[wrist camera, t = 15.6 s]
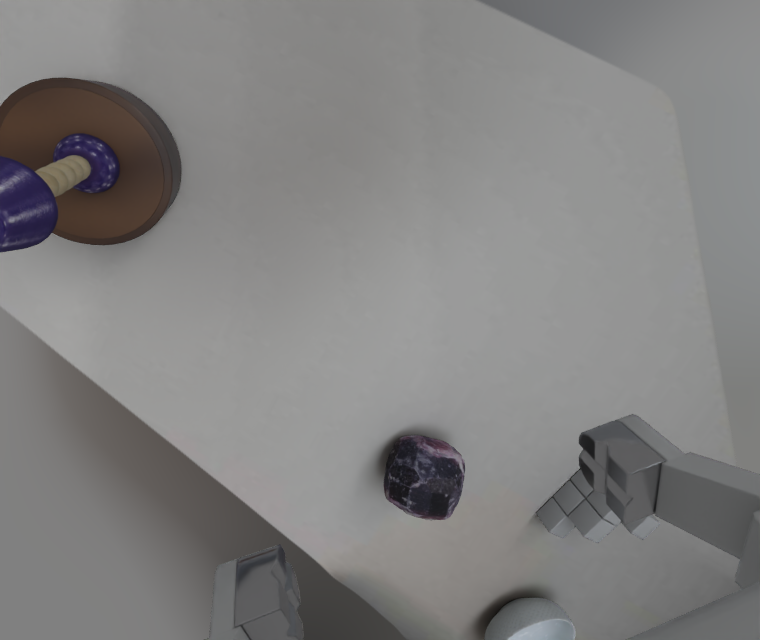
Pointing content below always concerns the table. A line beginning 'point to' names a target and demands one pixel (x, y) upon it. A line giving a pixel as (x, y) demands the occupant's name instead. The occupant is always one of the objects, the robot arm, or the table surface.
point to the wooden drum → (118, 130)
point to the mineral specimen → (424, 477)
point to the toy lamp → (50, 188)
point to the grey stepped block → (587, 513)
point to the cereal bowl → (531, 621)
